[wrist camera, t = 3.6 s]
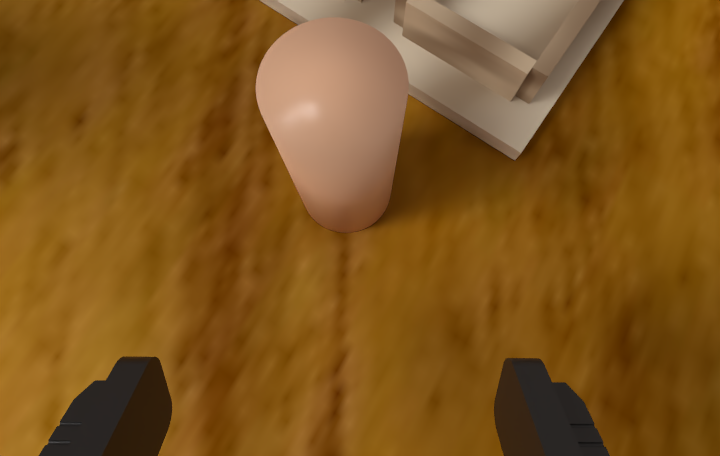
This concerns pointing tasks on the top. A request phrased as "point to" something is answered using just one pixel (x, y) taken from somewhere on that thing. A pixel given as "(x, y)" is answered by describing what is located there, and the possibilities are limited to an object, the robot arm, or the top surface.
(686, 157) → the top surface
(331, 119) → the pink tapered cylinder
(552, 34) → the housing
